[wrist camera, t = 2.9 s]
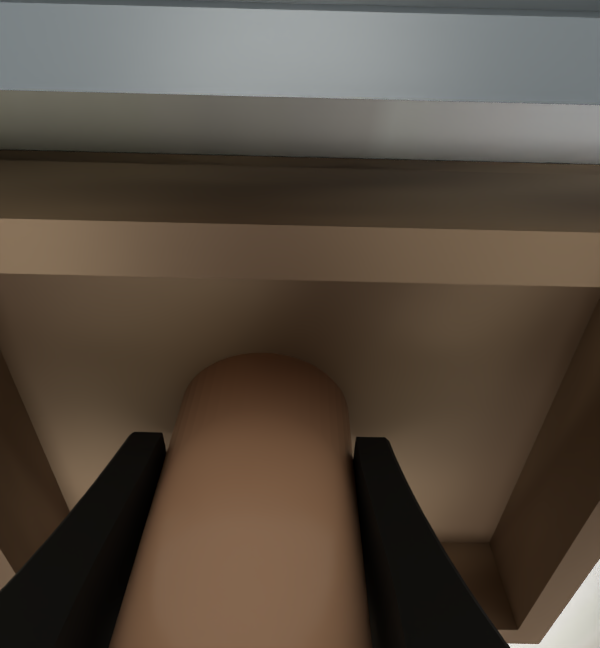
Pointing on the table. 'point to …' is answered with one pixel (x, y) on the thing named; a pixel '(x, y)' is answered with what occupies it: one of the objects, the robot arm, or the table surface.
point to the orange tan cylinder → (252, 518)
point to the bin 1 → (307, 48)
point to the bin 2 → (319, 334)
